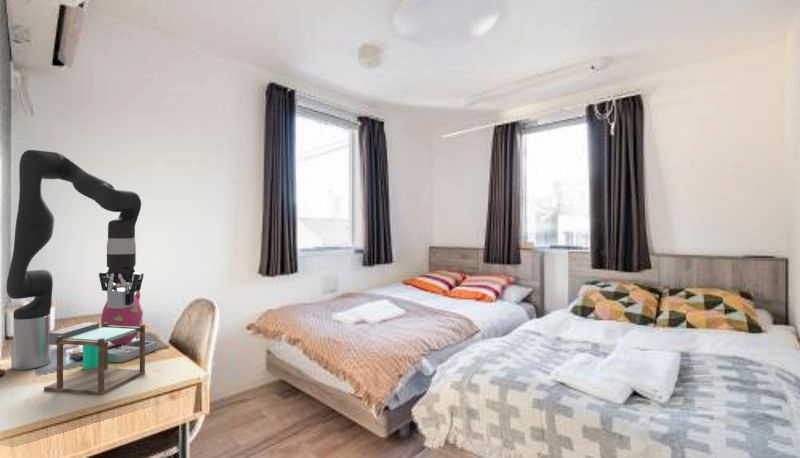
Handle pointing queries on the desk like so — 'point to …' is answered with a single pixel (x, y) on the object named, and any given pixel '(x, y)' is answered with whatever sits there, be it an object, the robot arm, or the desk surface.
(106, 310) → the pink dragon fruit
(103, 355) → the frame
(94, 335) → the trapdoor
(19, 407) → the desk surface
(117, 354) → the handheld gaming device
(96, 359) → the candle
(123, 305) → the grey rectangular block
